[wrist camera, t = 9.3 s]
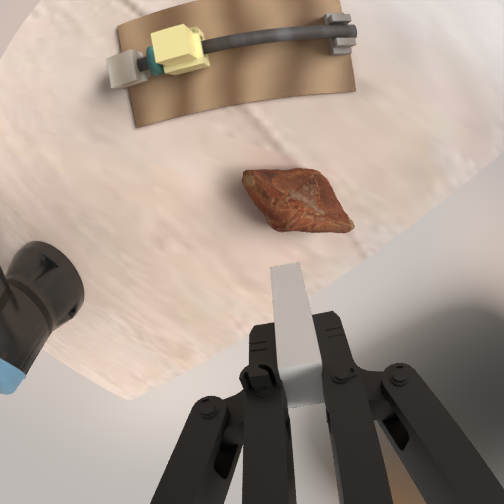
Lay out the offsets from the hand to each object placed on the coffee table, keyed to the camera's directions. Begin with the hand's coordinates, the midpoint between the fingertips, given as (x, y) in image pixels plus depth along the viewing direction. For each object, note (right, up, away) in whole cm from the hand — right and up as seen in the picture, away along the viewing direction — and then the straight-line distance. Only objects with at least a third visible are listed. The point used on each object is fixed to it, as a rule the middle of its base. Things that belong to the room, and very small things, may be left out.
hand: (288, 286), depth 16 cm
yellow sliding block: (-9, +23, +12) cm, 28 cm away
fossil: (+3, +9, +21) cm, 24 cm away
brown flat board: (-4, +25, +13) cm, 28 cm away
